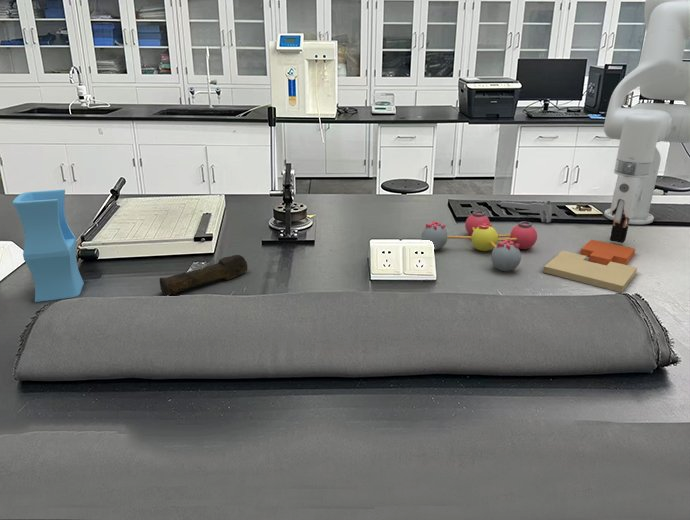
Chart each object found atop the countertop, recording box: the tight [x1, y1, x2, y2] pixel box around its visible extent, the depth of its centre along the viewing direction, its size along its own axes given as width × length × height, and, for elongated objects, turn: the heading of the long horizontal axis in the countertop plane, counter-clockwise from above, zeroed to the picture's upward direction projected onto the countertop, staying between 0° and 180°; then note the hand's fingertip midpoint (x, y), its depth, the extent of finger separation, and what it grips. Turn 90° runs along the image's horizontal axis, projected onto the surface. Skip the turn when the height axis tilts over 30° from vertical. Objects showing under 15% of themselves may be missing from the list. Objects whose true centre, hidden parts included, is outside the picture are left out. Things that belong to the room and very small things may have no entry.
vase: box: [12, 189, 84, 303], centre depth 104 cm, size 8×8×20 cm
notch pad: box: [543, 250, 638, 293], centre depth 116 cm, size 12×16×2 cm
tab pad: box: [579, 239, 636, 266], centre depth 125 cm, size 11×10×2 cm
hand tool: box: [159, 254, 248, 296], centre depth 110 cm, size 19×4×5 cm, turn 127°
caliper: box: [497, 200, 553, 223], centre depth 154 cm, size 20×1×6 cm, turn 27°
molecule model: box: [420, 210, 538, 272], centre depth 127 cm, size 25×21×6 cm
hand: (617, 240), depth 132 cm, fingers closed
